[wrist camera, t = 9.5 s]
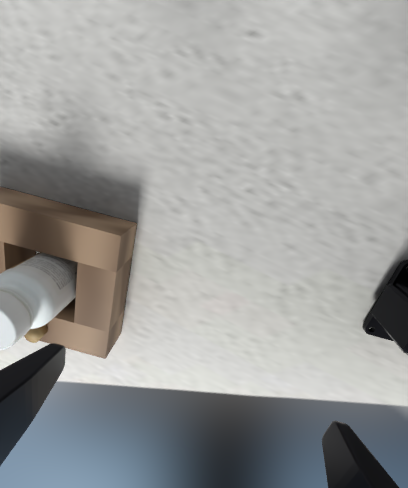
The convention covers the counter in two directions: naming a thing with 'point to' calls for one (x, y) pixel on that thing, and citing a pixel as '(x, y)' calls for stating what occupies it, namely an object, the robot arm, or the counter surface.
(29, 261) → the pill bottle
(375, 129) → the counter surface
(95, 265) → the socket block
